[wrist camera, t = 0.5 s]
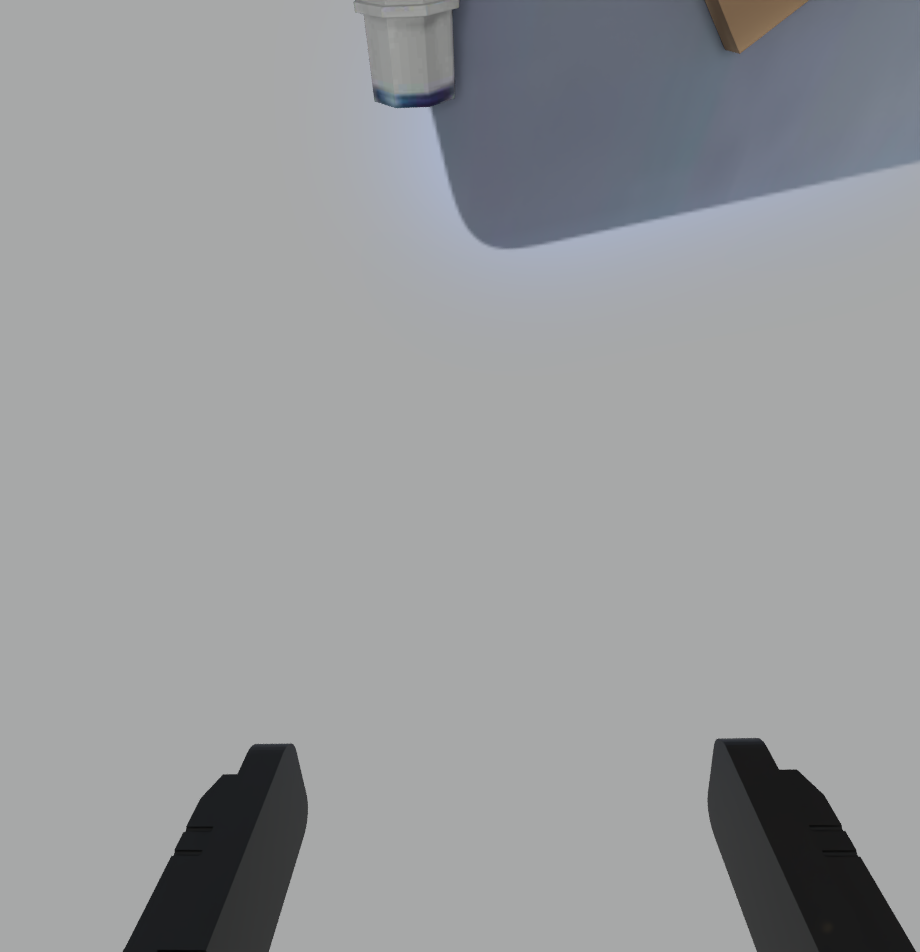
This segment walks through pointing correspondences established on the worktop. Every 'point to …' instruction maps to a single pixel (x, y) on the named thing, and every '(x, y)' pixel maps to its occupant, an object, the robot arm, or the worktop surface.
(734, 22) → the board
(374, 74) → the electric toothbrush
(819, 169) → the worktop surface
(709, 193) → the worktop surface
